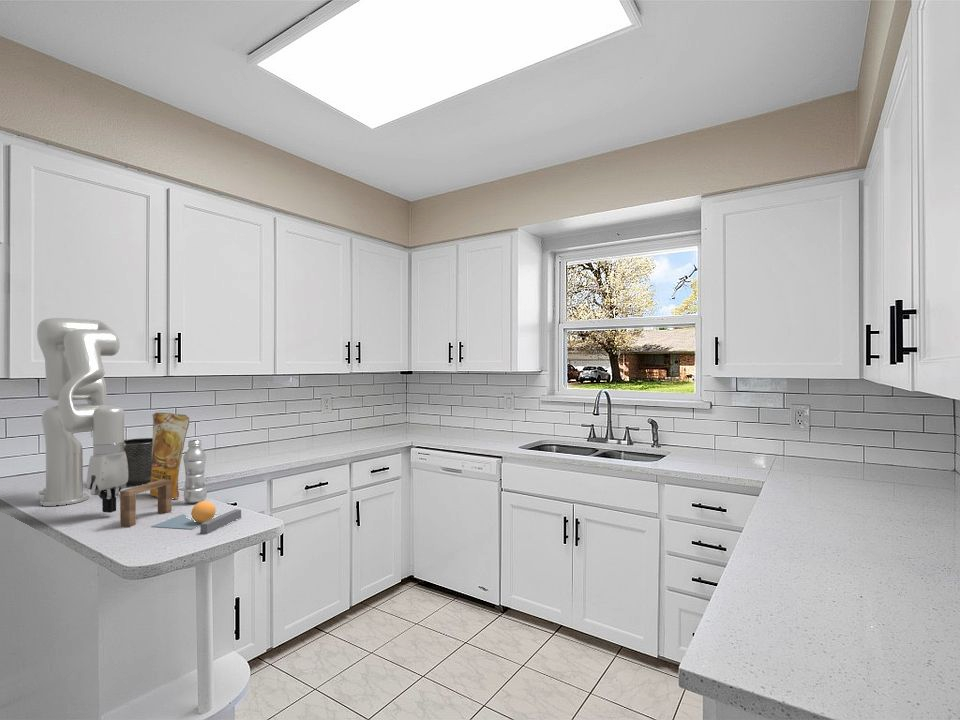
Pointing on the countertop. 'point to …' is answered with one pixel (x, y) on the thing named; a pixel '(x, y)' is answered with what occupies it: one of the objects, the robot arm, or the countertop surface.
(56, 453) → the robot arm
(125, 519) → the bridge
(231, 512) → the stopper
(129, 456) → the planter
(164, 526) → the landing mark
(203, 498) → the plastic bottle
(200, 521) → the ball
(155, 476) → the pancake mix bag
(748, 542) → the countertop surface
